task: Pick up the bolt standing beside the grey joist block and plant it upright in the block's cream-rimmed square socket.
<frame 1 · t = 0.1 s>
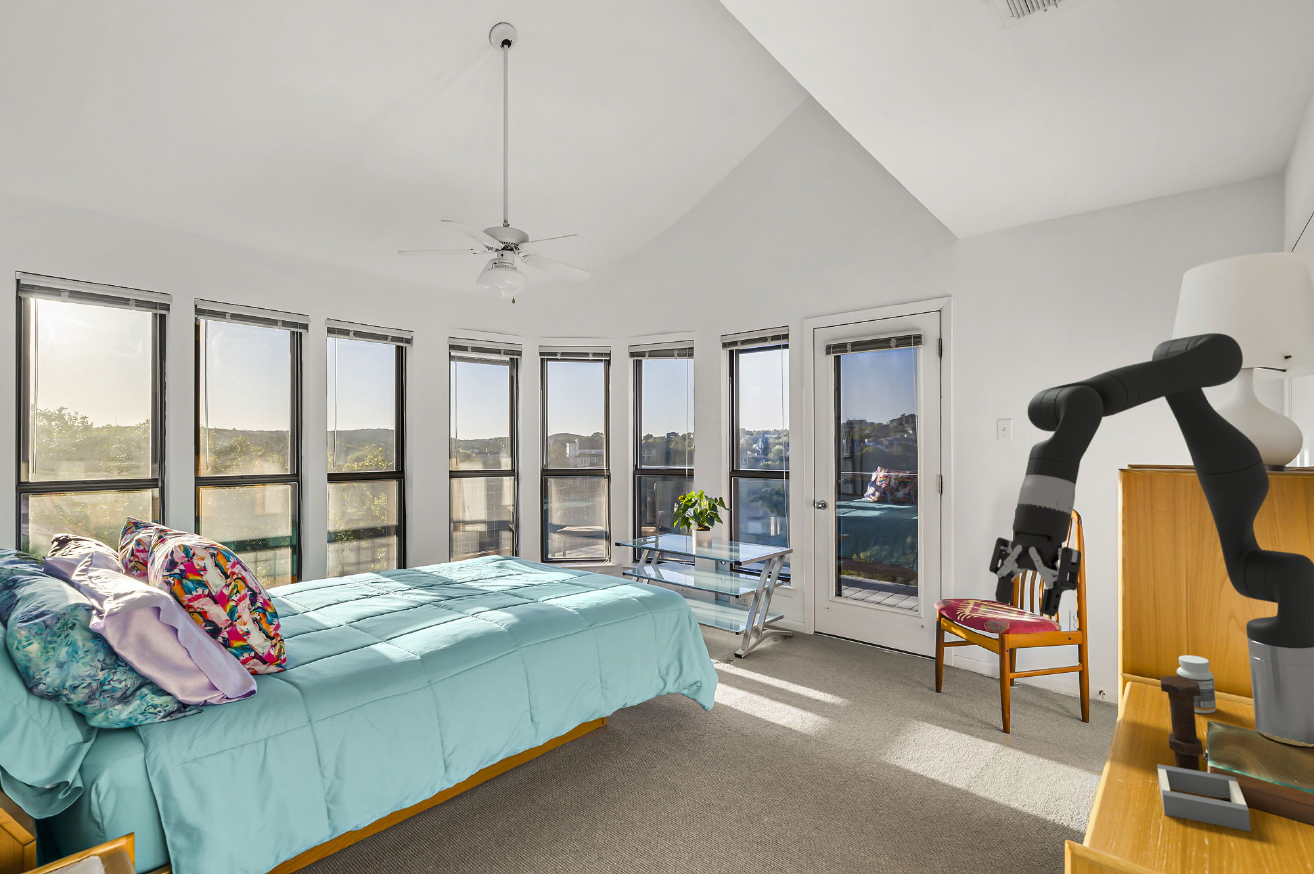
hand: (1023, 608, 100), 31 cm above the dresser, tool tilted 20°, fingers open, 8 cm apart
bolt: (1188, 772, 107), on the dresser
joist block: (1201, 805, 98), on the dresser
pill bottle: (1198, 709, 129), on the dresser
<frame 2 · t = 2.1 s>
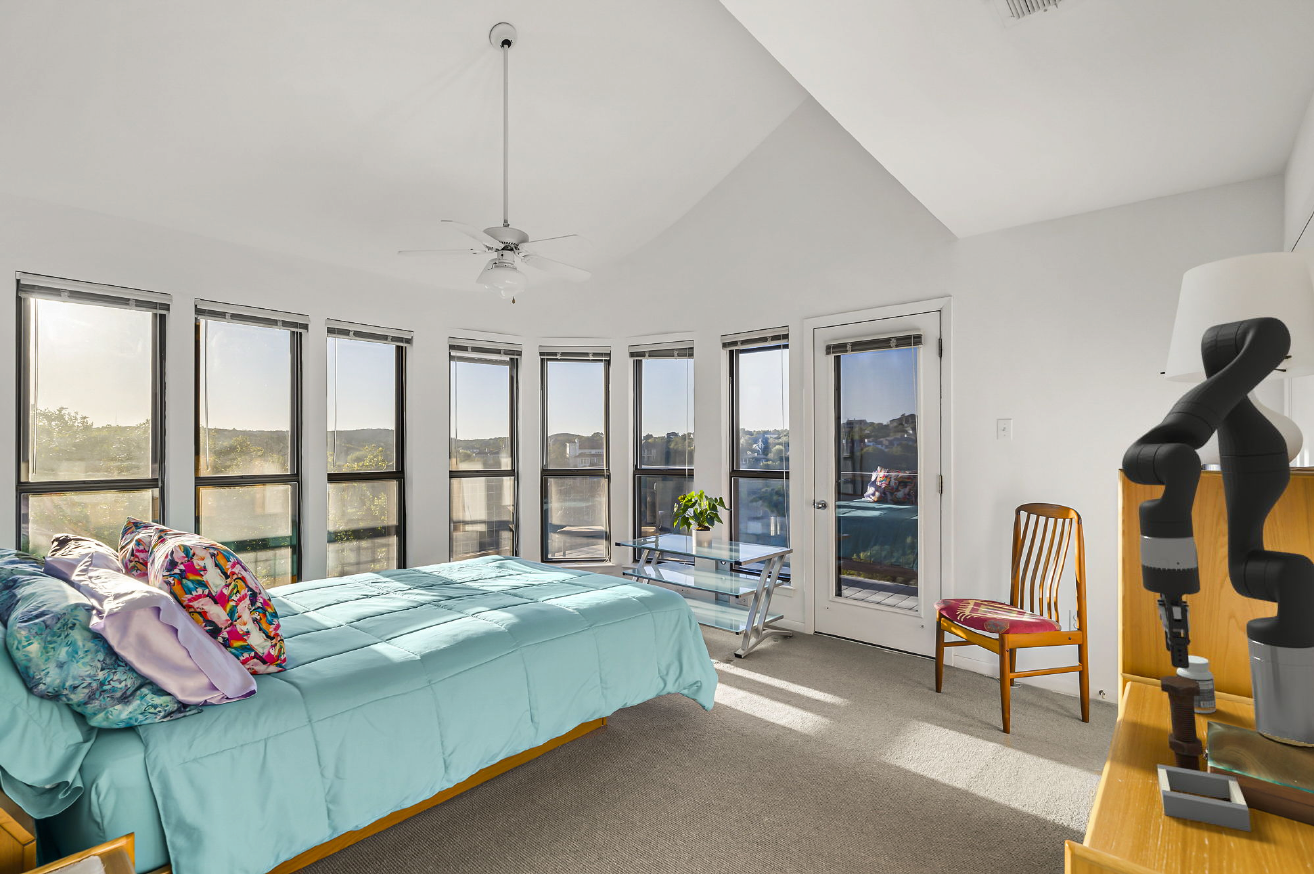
hand: (1177, 659, 107), 19 cm above the dresser, tool pointing down, fingers open, 8 cm apart
nothing on the dresser moved.
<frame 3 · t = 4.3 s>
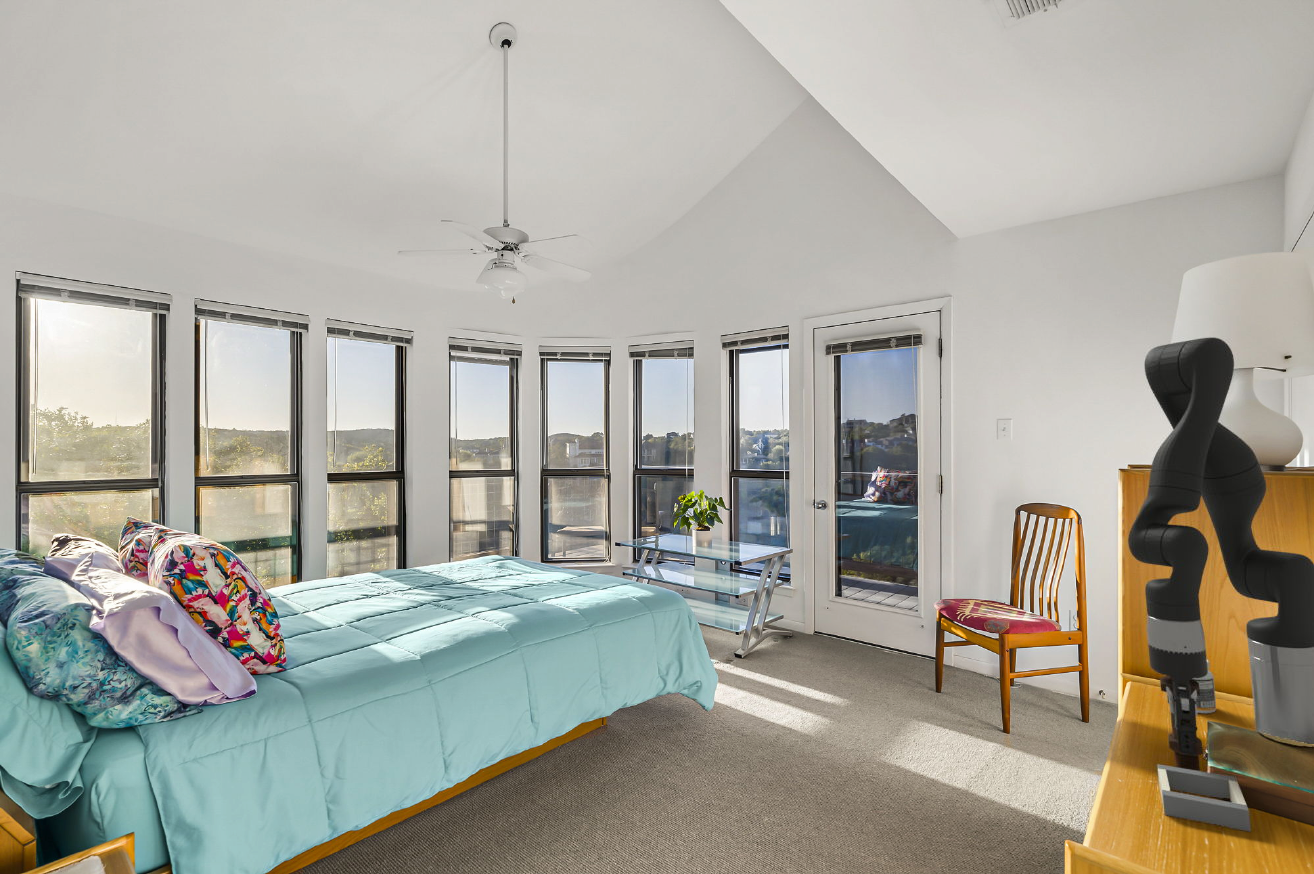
hand: (1185, 744, 107), 4 cm above the dresser, tool pointing down, fingers closed on bolt, 4 cm apart
bolt: (1188, 772, 107), on the dresser, touching gripper
everything else where it was.
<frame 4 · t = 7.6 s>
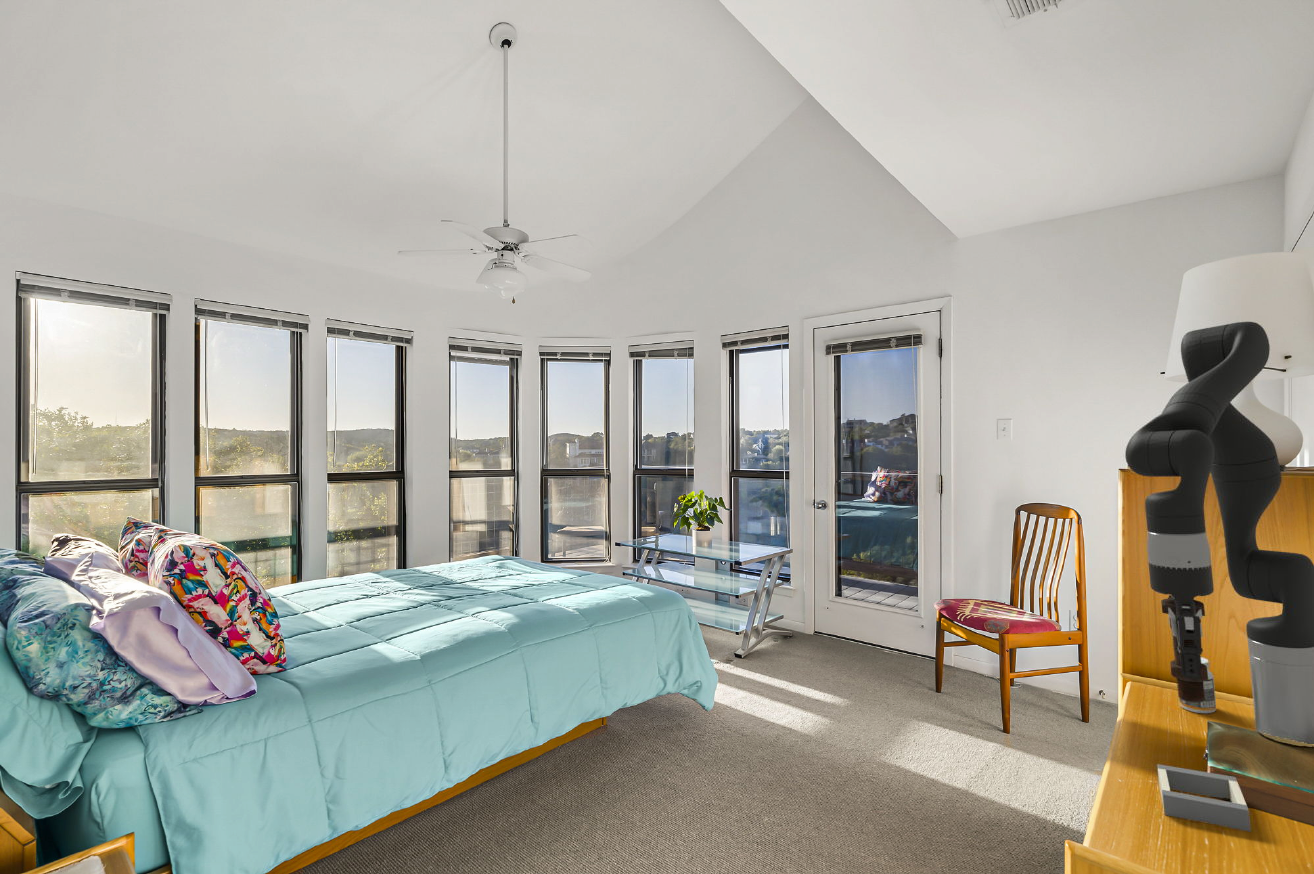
hand: (1189, 671, 98), 20 cm above the dresser, tool pointing down, fingers closed on bolt, 4 cm apart
bolt: (1191, 701, 98), point 16 cm above the dresser, touching gripper
everything else where it was.
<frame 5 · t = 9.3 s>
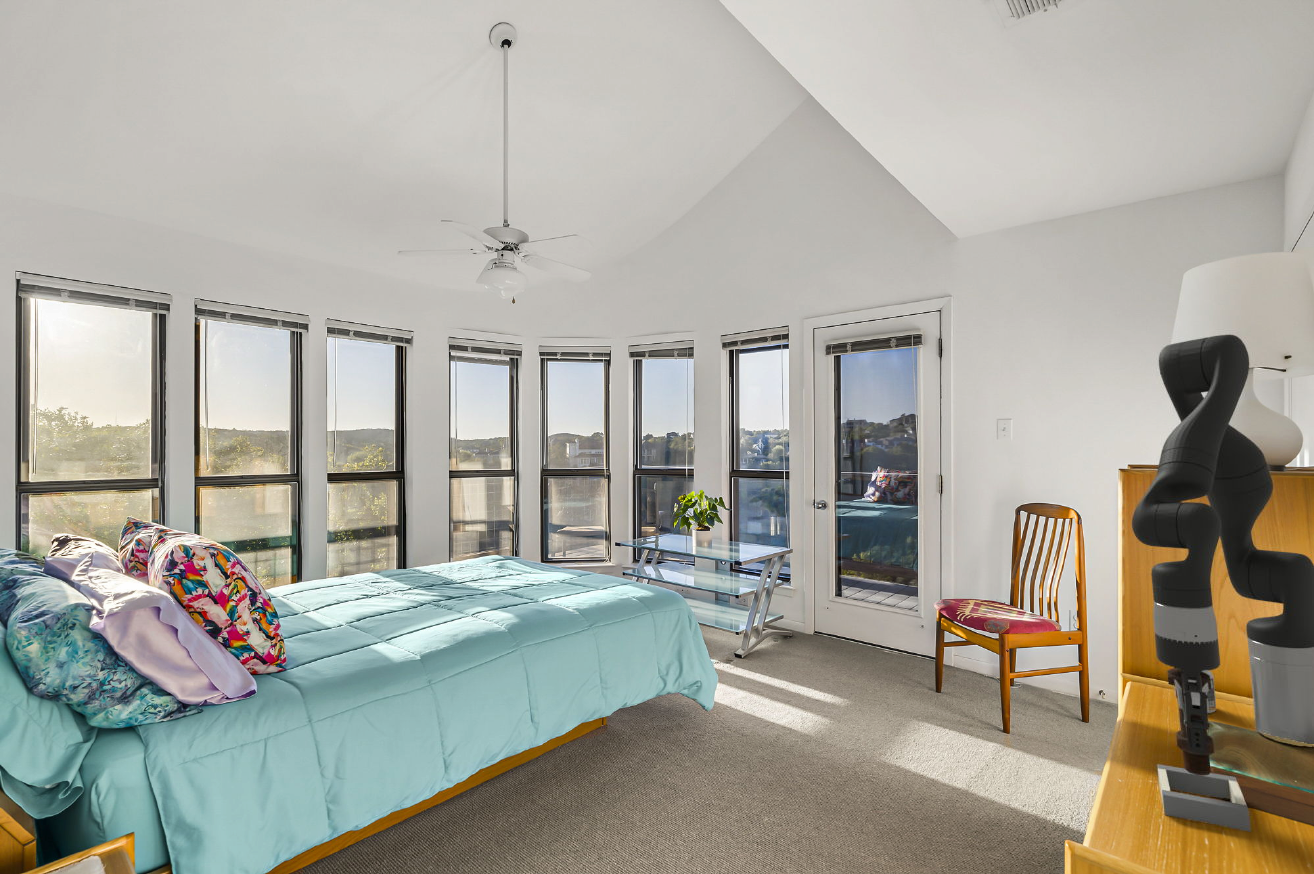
hand: (1195, 743, 98), 9 cm above the dresser, tool pointing down, fingers closed on bolt, 4 cm apart
bolt: (1197, 773, 98), point 5 cm above the dresser, touching gripper
everything else where it was.
when the fingers open (6 cm above the dresser, at t = 10.9 s): bolt drops 1 cm, resting in joist block.
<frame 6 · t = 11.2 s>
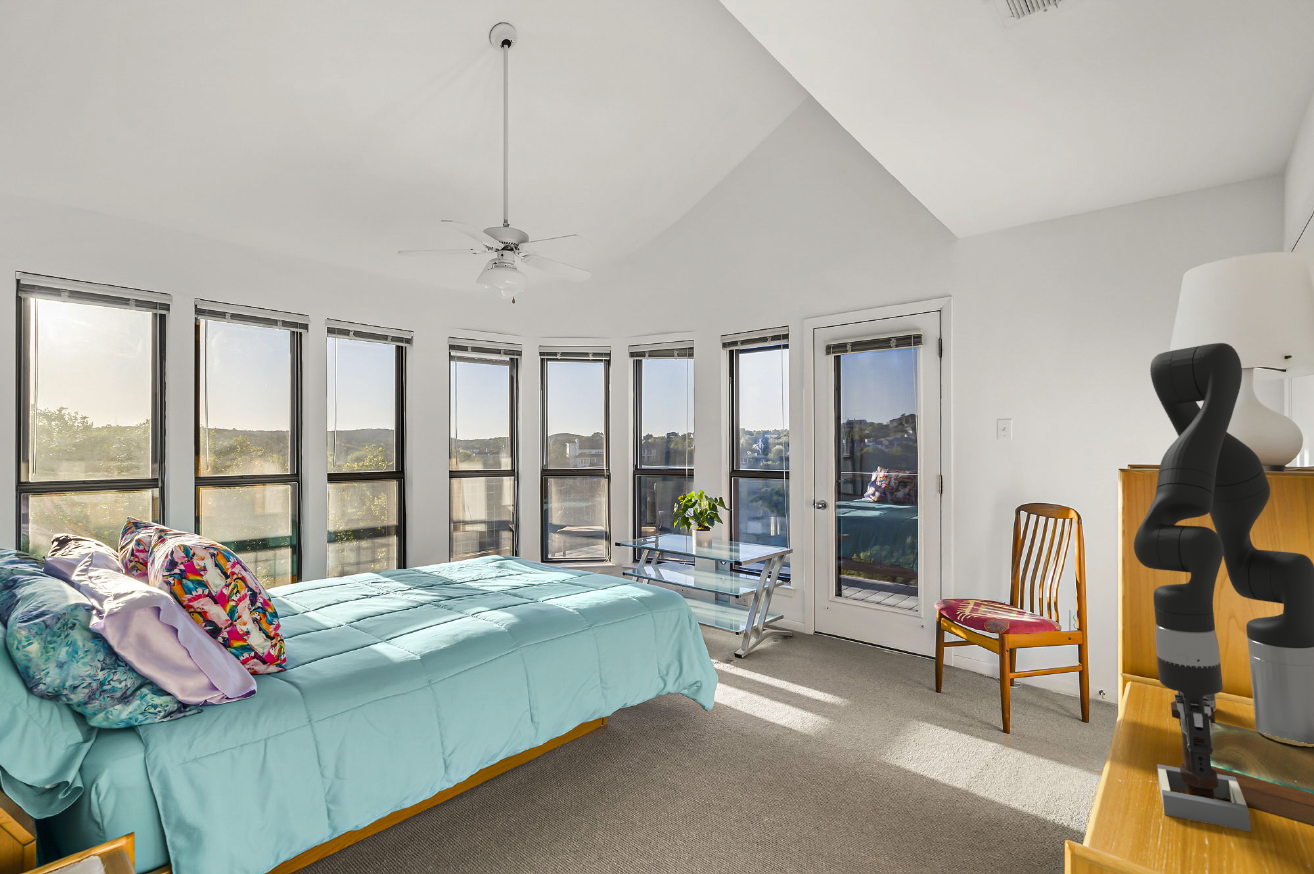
hand: (1197, 764, 98), 6 cm above the dresser, tool pointing down, fingers open, 6 cm apart
bolt: (1201, 806, 98), resting in joist block
everything else where it was.
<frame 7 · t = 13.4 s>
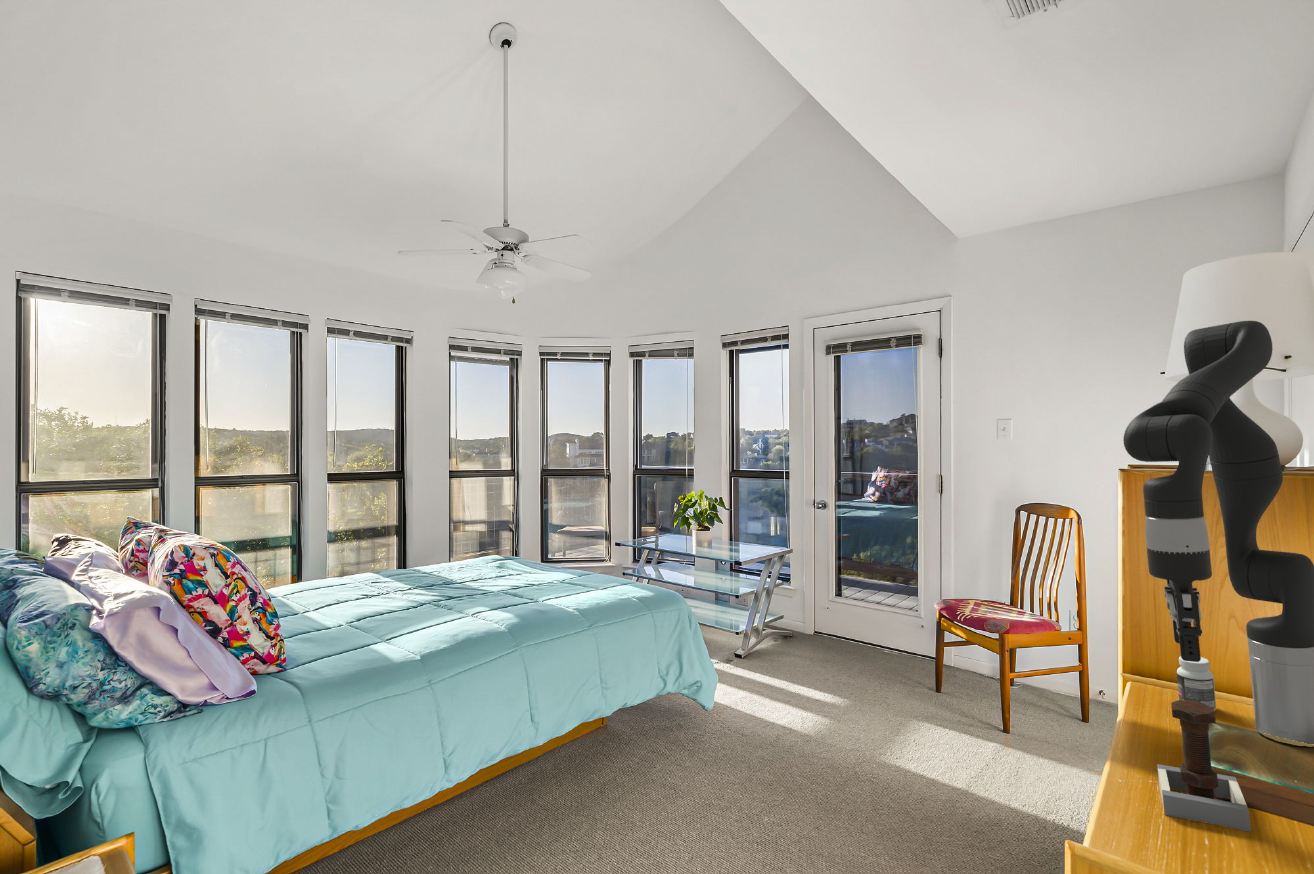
hand: (1187, 651, 98), 23 cm above the dresser, tool pointing down, fingers open, 8 cm apart
nothing on the dresser moved.
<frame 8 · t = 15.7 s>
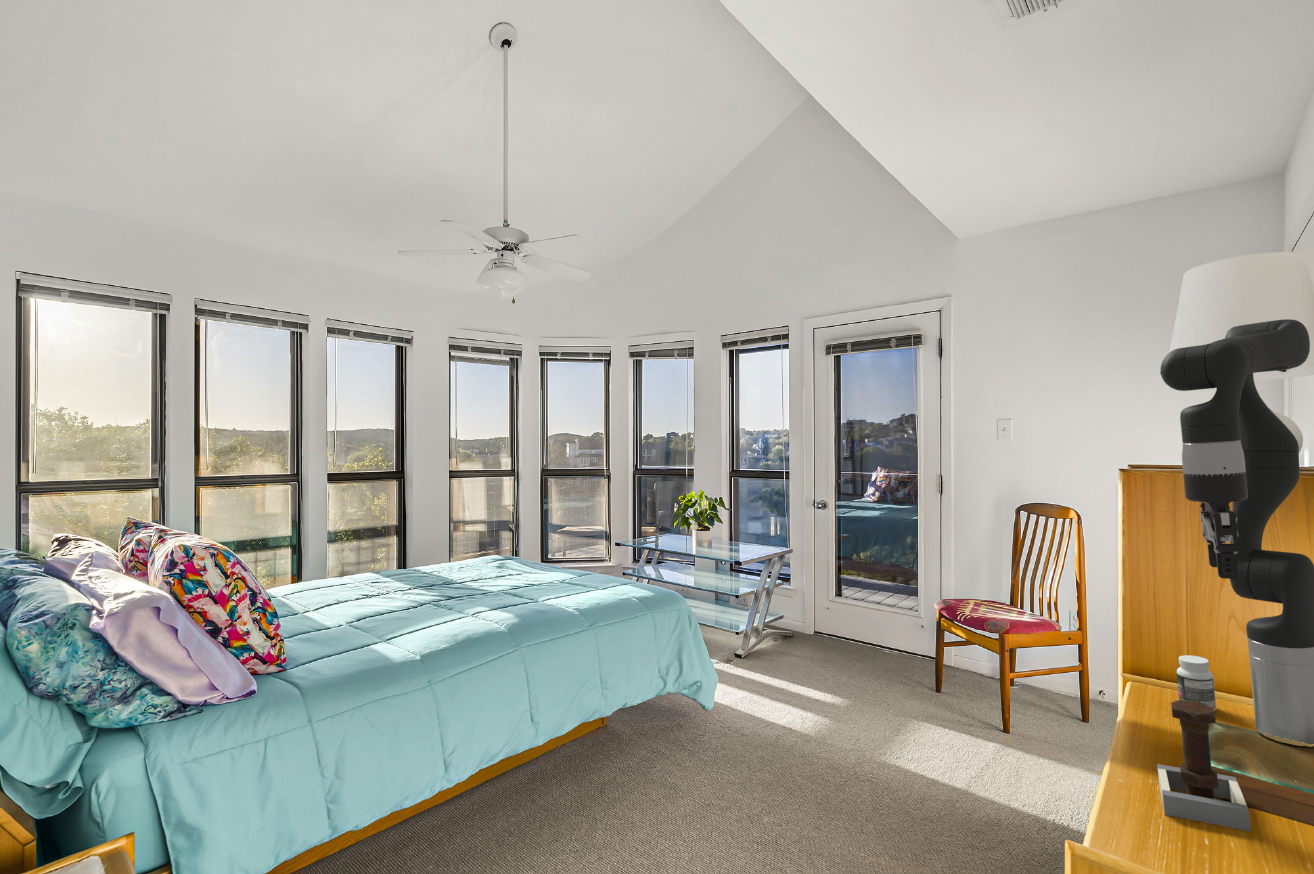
hand: (1223, 572, 101), 34 cm above the dresser, tool pointing down, fingers open, 8 cm apart
nothing on the dresser moved.
at the end: bolt 0.2 cm from the target spot, resting in joist block; bolt tilted 0°; the gripper is holding nothing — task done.
